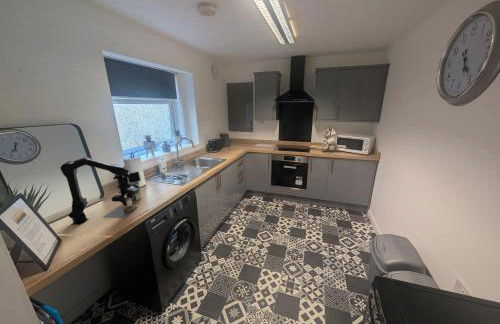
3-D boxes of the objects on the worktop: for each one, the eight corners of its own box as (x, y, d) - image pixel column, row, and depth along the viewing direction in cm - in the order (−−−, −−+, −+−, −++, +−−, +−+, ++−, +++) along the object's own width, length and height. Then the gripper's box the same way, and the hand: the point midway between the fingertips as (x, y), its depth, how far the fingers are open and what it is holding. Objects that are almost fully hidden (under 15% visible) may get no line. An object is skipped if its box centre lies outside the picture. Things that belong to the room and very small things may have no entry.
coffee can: (129, 204, 142) (125, 186, 138) (125, 199, 149) (121, 183, 145) (144, 199, 149) (140, 182, 145) (139, 195, 156) (136, 179, 152)
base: (121, 212, 130) (120, 209, 129) (128, 207, 137) (128, 203, 136) (131, 212, 129) (130, 209, 129) (137, 207, 136) (137, 204, 135)
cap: (123, 206, 130) (121, 199, 128) (128, 203, 134) (126, 196, 133) (129, 207, 130) (127, 199, 128) (133, 203, 134) (132, 196, 132)
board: (102, 218, 125) (102, 217, 125) (118, 207, 138) (118, 206, 138) (125, 218, 123) (125, 217, 123) (139, 207, 137) (138, 206, 136)
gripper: (124, 189, 118) (130, 211, 122) (143, 178, 135) (147, 198, 140) (108, 189, 119) (114, 211, 123) (128, 178, 136) (133, 197, 141)
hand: (128, 204), depth 132 cm, fingers open, 5 cm apart
